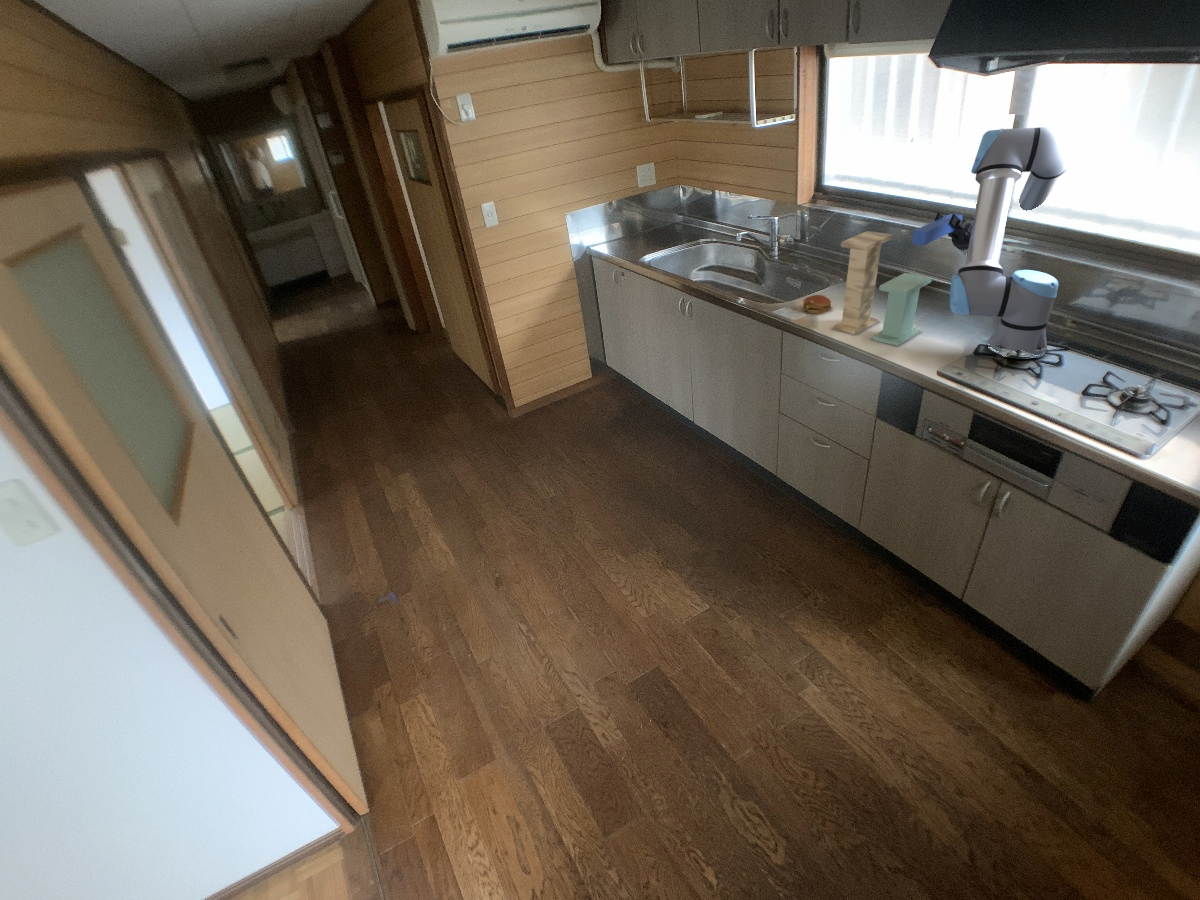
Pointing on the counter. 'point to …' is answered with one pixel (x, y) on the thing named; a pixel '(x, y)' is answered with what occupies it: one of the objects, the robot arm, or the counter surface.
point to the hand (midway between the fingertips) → (944, 217)
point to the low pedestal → (901, 308)
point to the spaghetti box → (933, 230)
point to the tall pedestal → (861, 281)
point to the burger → (817, 304)
